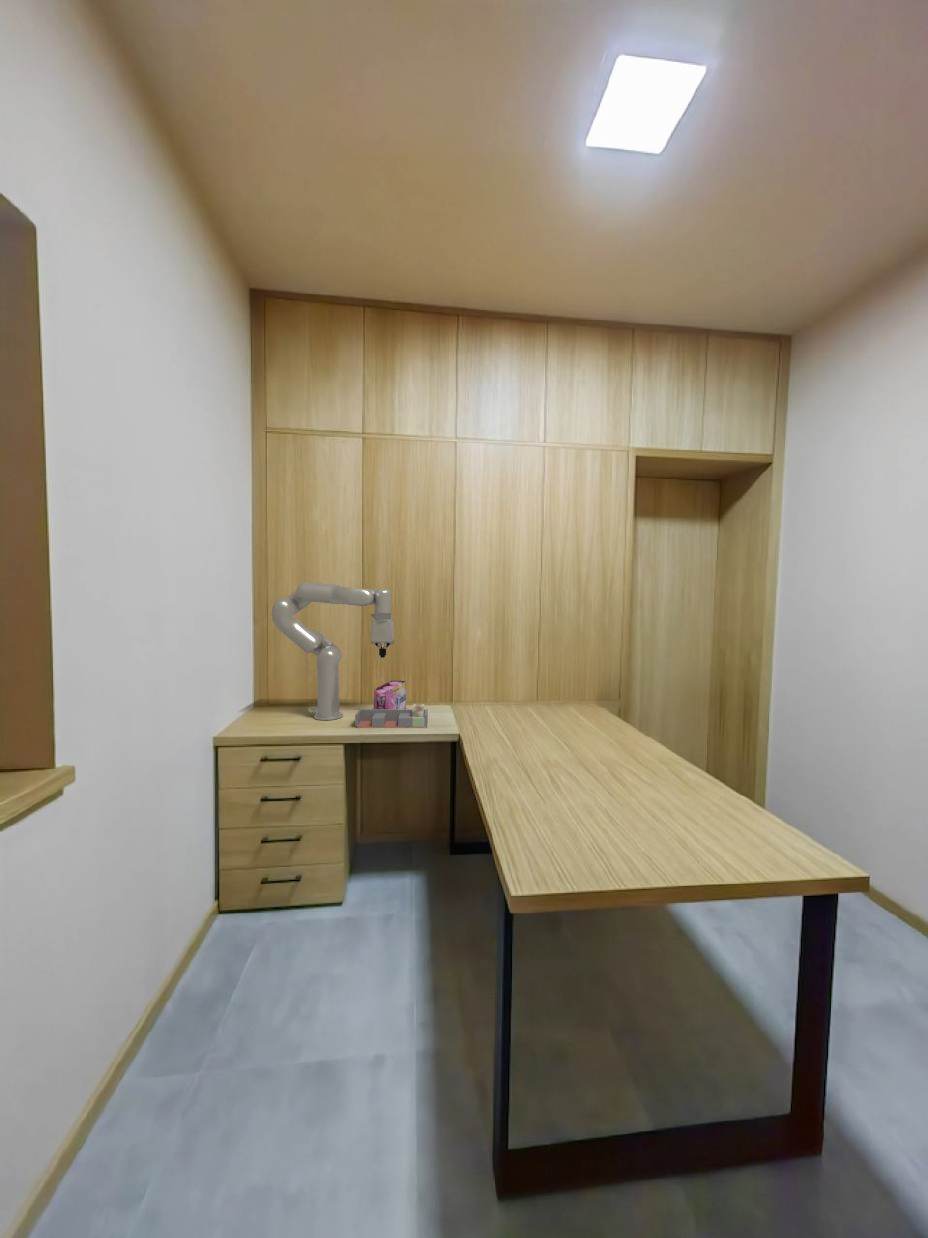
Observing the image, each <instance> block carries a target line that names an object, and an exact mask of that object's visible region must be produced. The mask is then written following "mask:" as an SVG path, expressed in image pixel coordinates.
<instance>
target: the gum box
mask: <svg viewBox="0 0 928 1238" xmlns="http://www.w3.org/2000/svg"><path fill="white" fill-rule="evenodd" d="M405 708H406V709H407V680H406V681H405V680H389V681H387V682H386V683H383V684H381V685H379V686H377V687H376V688H373V708H372V709H405Z"/></svg>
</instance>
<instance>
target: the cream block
mask: <svg viewBox="0 0 928 1238" xmlns="http://www.w3.org/2000/svg"><path fill="white" fill-rule="evenodd" d="M412 709H413V710H412V717H423V716H424V710H425V704H424V703H413V704H412Z"/></svg>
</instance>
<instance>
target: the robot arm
mask: <svg viewBox="0 0 928 1238" xmlns="http://www.w3.org/2000/svg"><path fill="white" fill-rule="evenodd" d="M311 603H320V604H321V603H324V604H332V605H345V606H346V605H347V606H356V607H358V606H359V607H367V606H373V605H374V608H373V610H374V611H373V613H371V614H370V617H371V618H373V619H372V622H371V629H370V644H371V645H373V646H375V647H377V649H378V653H379V654H378V656H380V658H385V657H386V656H387V648H388V647H389V646H393V645H395V644H396V642H395V627H394V621H393V619H392V591H391V590H389V589H369V588H356V587H348V586H347V587H346V586H341V585H337V584H333V583H332V584H330V583H328V584H327V583H318V582H311V581H305V582H301V583H299V584H298V585H297V587H296V590H295V591H293V592H292V593H291V594H290V595H288V596H286V597H282V598H279V599H277V600H276V601H275V602H274V603H273V605H272V608H271V612H270V613H271V614H270V615H271V621H272V623H273V624H274V626H275V627H276V628H277V629H278V631H279V632H281V634H283V635H284V636H285V637H287V638H288V639H289V640H290V641H291V642H292V643H294V644H295V645H296V646H297V647H298V648H300V650H302V651H303V652H305V653H307V654H308V653H312V654H313V655H314V656H316V659H315V663H316V664H315V665H316V680H317V681H316V682H317V683H316V684H317V685H316V686H317V687H316V688H317V689H316V690H317V698H316V700H317V702H316V703H317V705H316V706H315V707H308V708H307V712H309V714H311V713H312V714H313V713H314V714H313V717H314V719H315V720H318V721H332V720H333V721H334V720H338V719H340V718H343V715H344V713H343V712H342V711H340V668H339V666H340V664H339V663H340V661H341V659H342V651H341V649H340V647H339V646H338V645H336V644H335V643H334V642H332V641H331V640H330V639H329V638H328V637H326V636H325V635H324V634H323V633H321V632H320V631H318V630H315V629H309V628H308V627H307V626H305V625H304V624H303V623H302V622H300V620H298V619H297V618H295V617H294V615H296V614H297V613H299V612H301V611H302V610H303V609H305V608H306V607H307V606H309V605H310V604H311ZM382 643H383V644H382ZM382 645H383V646H382Z"/></svg>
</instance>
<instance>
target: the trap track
mask: <svg viewBox="0 0 928 1238" xmlns="http://www.w3.org/2000/svg"><path fill="white" fill-rule="evenodd" d="M412 710H413V708H411V709H407V708H406V709H373V708H369V709H367V708H366V709H365V708H359V709H358V710H357V711H356V713H355V714H354V715H355V716H354V722H355V724H354V727H355V729H356V728H363V729H364V728H366V729H367V728H372V727H373V729H374V727H376V728H377V729H378V728H384V729H385V728H388V729H391V728H393V729H394V728H396V729H397V728H401V729H405V728H407V729H410V728H411V729H414V728H415V729H416V728H417V729H421V728H422V729H424V728H423V727H426V729H427V728H428V721H429V719H428V717H429V716H428V715H429V714H428V713H429V709H424V716H423V717H412Z"/></svg>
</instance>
